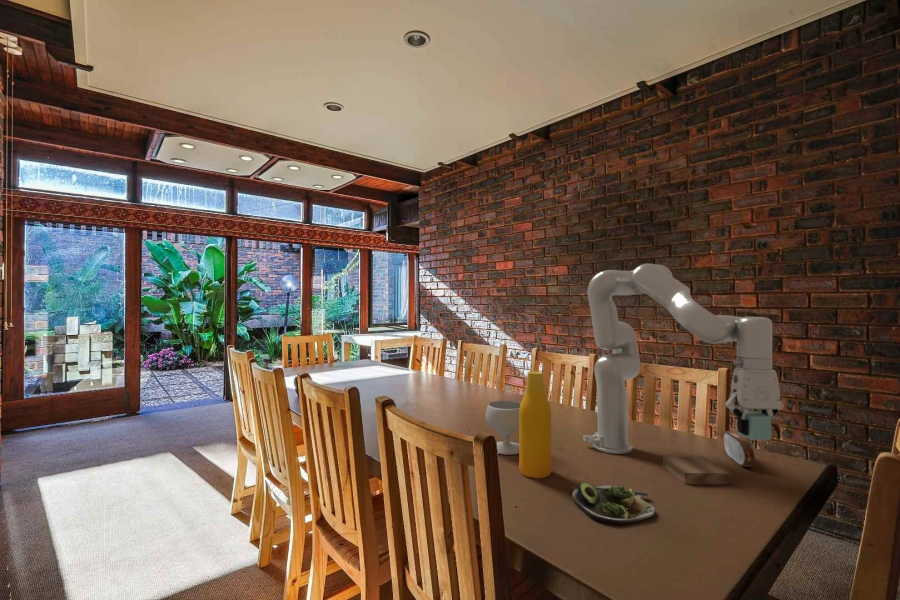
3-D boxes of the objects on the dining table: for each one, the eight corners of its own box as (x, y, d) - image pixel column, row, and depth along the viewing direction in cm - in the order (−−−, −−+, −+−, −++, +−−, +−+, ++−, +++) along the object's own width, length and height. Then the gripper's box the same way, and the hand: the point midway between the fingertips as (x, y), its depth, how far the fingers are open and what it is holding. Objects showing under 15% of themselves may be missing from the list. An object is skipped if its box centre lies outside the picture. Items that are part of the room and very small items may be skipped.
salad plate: (627, 486, 113) (627, 469, 113) (676, 520, 96) (676, 499, 96) (561, 494, 109) (561, 476, 109) (601, 530, 92) (600, 509, 92)
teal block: (751, 439, 107) (751, 416, 107) (738, 433, 112) (738, 411, 112) (771, 439, 107) (771, 416, 107) (756, 433, 112) (756, 411, 112)
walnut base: (685, 484, 114) (685, 473, 114) (662, 466, 126) (662, 456, 126) (729, 484, 114) (729, 473, 114) (703, 466, 125) (703, 456, 126)
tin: (756, 471, 122) (755, 442, 122) (743, 471, 122) (743, 442, 122) (732, 453, 136) (732, 427, 136) (721, 452, 137) (721, 427, 137)
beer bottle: (516, 476, 119) (515, 374, 119) (522, 464, 128) (521, 369, 128) (549, 481, 116) (549, 376, 116) (553, 468, 125) (552, 370, 125)
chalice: (536, 451, 139) (536, 405, 139) (504, 460, 131) (504, 412, 131) (507, 439, 151) (507, 397, 151) (477, 447, 143) (476, 403, 143)
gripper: (731, 366, 106) (730, 438, 106) (798, 366, 106) (798, 438, 106) (712, 361, 113) (712, 429, 113) (775, 361, 113) (775, 429, 113)
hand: (754, 432), depth 110 cm, fingers closed on teal block, 5 cm apart
